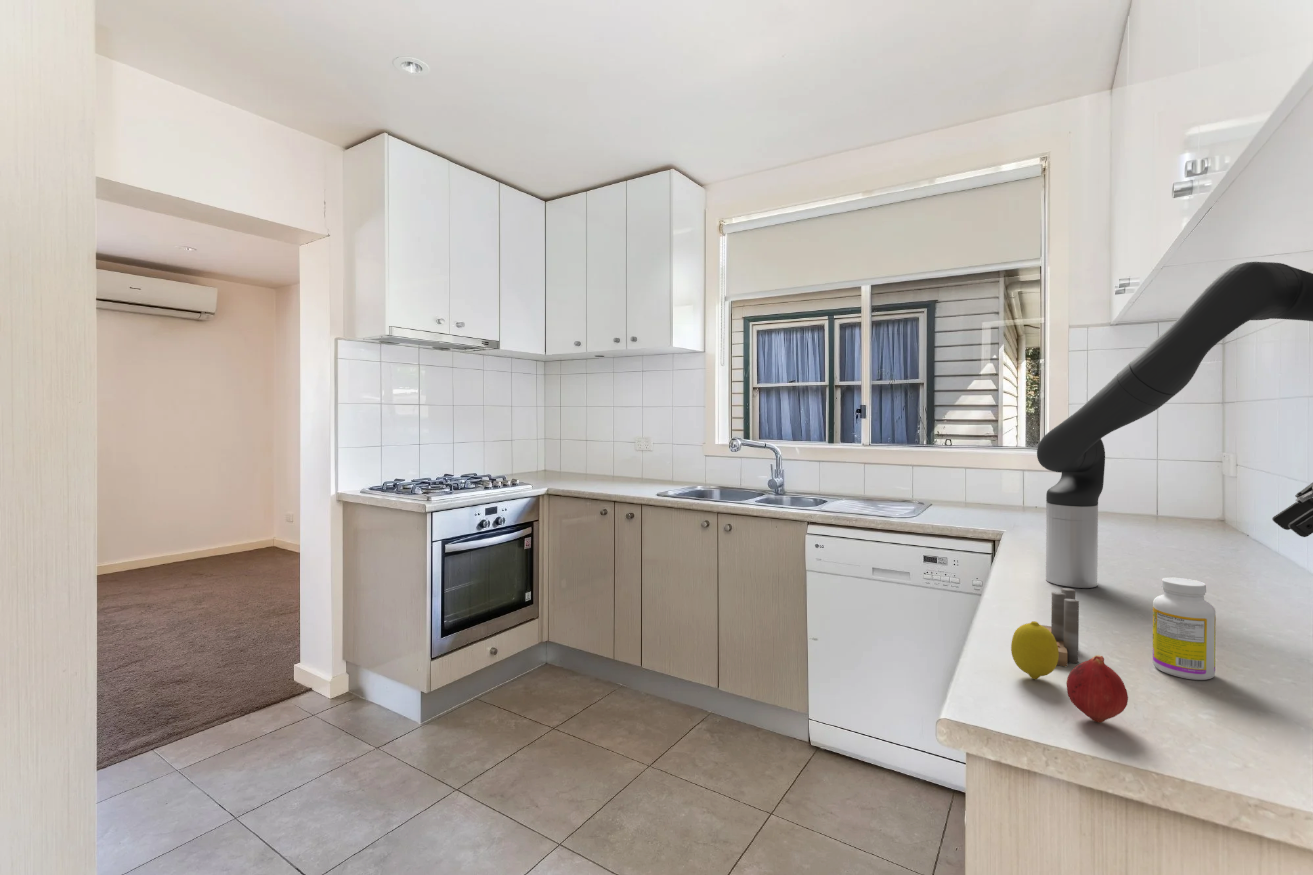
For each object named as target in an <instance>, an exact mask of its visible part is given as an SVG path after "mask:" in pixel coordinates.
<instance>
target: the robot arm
mask: <svg viewBox="0 0 1313 875" xmlns="http://www.w3.org/2000/svg"><path fill="white" fill-rule="evenodd" d="M1270 319H1271V320H1272V319H1273V320H1275V319H1276V320H1292V321H1303V322H1305V321H1306V322H1313V272H1309V271H1305V270H1303V269H1300V268H1297V267H1293V266H1290V265H1288V264H1285V263H1281V262H1268V261H1267V262H1266V261H1248V262H1247V261H1246V262H1243V263H1238V264H1236V265H1234V266H1231V267H1229V268H1227V269H1226V270H1224V271H1222V272H1221V273H1220V274H1219V275H1217V277H1216V278H1214V279H1213V280H1212V281H1211V282H1210V283H1209V284H1208V286H1206V288H1205V289H1204V290H1203V291H1202V292H1201V293H1200V294H1199V296H1197V298H1196V299H1195V300H1194V301H1193V302H1192V303H1191V305H1190V306H1189V307H1188V308H1187V309H1186V310H1185V311H1184V312H1183V313H1182V314H1181V316H1180V317H1179V318H1178V319H1176V320H1175V322H1173V324H1171V325H1170V326H1169V327H1168V328H1167V329H1166V330H1165V331H1164V332H1163V333H1162V334H1160V335H1159V336H1158V337H1156V339H1154V341H1152V342H1151V343H1150V344H1149V345H1148V346H1147V347H1146V348H1145V349H1144V350H1143V351H1141V353H1139V354H1138V355H1137V356H1136V357H1134V358H1133V359H1132V360H1131V361H1130V362H1129V363H1128V364H1127V365H1126V366H1124V367H1123V368H1122V369H1121V370H1120V371H1119V372H1118V373H1117V374H1116V375H1115V376H1114V377H1113V378H1112V379H1111V380H1110V381H1109V382H1108V383H1107V384H1105V385H1104V386H1103V387H1102V388H1101V389H1100V390H1099V391H1098V392H1096V393H1095V395H1093V396H1092V397H1091V398H1090V399H1089V400H1088V401H1087V402H1085V404H1084V405H1083V406H1081V407H1080V408H1079V409H1078V410H1077V411H1075V412H1074V413H1073V414H1071V415H1070V416H1069V417H1067V418H1066V419H1065V420H1063V421H1062V422H1061V423H1059V424H1058V425H1056V426H1055V427H1054V428H1052V429H1050V431H1048V432H1047V433H1046V434H1045V435H1044V436H1043V437H1042V438H1041V440H1040V441H1039V443H1038V446H1037V449H1036V458H1037V461H1038V463H1039V464H1040V466H1041V467H1042V468H1043V469H1044V468H1045V469H1046V470H1048V471H1050V472H1054V473H1061V474H1060V475H1061V476H1060V479H1059V480H1058V482H1057V483H1055V484H1054V485H1053V486H1051V487H1050V488H1048V489H1047V491H1046V497H1045V499H1046V500H1045V502H1046V504H1045V506H1046V508H1045V510H1046V514H1045V515H1046V516H1045V518H1046V519H1045V520H1046V522H1045V526H1046V527H1045V580H1046V582H1048V583H1051V584H1054V585H1057V586H1063V587H1067V588H1077V589H1078V588H1080V589H1081V588H1082V589H1089V588H1095V587H1097V586H1098V560H1099V558H1098V557H1099V556H1098V555H1099V554H1098V553H1099V552H1098V550H1099V549H1098V548H1099V544H1098V543H1099V498H1100V497H1101V494H1102V492H1103V489H1104V480H1105V467H1106V451H1105V444H1104V442H1103V440H1102V438H1104V437H1106V436H1107V435H1108V434H1111V433H1112V432H1114V431H1116V430H1118V429H1121V428H1123V427H1125V426H1128V425H1129V424H1131V423H1134V422H1136V421H1138V420H1141V419H1142V418H1144V417H1146V416H1148V415H1150V414H1152V413H1153V412H1155V411H1157V410H1158V409H1159V408H1160V407H1162V406H1164V405H1165V404H1166V403H1167V402H1168V401H1169V400H1171V399H1172V398H1174V396H1176V395H1177V394H1179V393H1180V392H1181V391H1182V390H1183V389H1184V388H1185V387H1186V386H1187V385H1188V384H1189V383H1190V381H1191V380H1192V379H1193V377H1194V376H1195V374H1196V372H1197V370H1198V369H1199V368H1200V365H1201V363H1202V361H1203V359H1204V358H1205V356H1206V355H1207V354H1208V353H1209V352H1210V351H1211V349H1213V348H1214V347H1215V346H1216V345H1217V344H1218V343H1219V342H1221V341H1222V340H1223V339H1225V338H1226V337H1227V336H1228V335H1230V334H1232V333H1233V332H1234V331H1235V330H1236V329H1238V328H1240V327H1241V326H1243V325H1244V324H1245V323H1248V322H1249V321H1265V320H1270ZM1295 498H1296V499H1295V502H1293V504H1291V505H1289V506H1288V507H1287V508H1285V509H1283V510H1282V511H1281V512H1278V513H1277V514H1276V515H1274V516H1273V517H1272V522H1274V523H1275V524H1276V525H1277V526H1279V527H1280V528H1282V529H1284V530H1287V531H1289V530H1291V531H1293V532H1294V533H1295V534H1296V535H1298V536H1299V537H1302V538H1307V537H1308V536H1310V535H1312V534H1313V482H1311V483H1310V484H1308V485H1307V486H1305V488H1303V489H1302V490H1300V491H1298V492H1297V493H1296V494H1295Z"/></svg>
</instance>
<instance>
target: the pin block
mask: <svg viewBox="0 0 1313 875" xmlns="http://www.w3.org/2000/svg"><path fill="white" fill-rule="evenodd" d="M1060 590H1061V591H1058V592H1057V591H1052V592H1051V617H1050V618H1051V626H1050V625H1045V624H1041V625H1042V626H1044V627H1045V628H1047V629H1048V630H1049V631H1050V632H1051V633H1052V634H1053V636H1054V637H1055V640H1056V642H1057V646H1058V651H1059V658H1058V663H1057V665H1056V666H1060V667H1061V666H1062V667H1065V666H1067V667H1068V663H1069V662H1071V663H1070V664H1078V663H1079V634H1080V632H1079V631H1080V630H1079V628H1080V626H1079V625H1080V624H1079V622H1080V621H1079V620H1080V619H1079V618H1080V617H1079V614H1080V612H1079V610H1080V609H1079V608H1080V601H1079V600H1077V599H1076V590H1075V589H1073V588H1070V587H1064V588H1063V587H1062V588H1061V589H1060Z"/></svg>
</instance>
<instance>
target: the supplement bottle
mask: <svg viewBox="0 0 1313 875" xmlns="http://www.w3.org/2000/svg"><path fill="white" fill-rule="evenodd" d="M1161 588H1162V590H1163V593H1162V594H1160V595H1158V596H1156V597H1155V598H1154V599H1153V601H1152V663H1153V666H1154V667H1155V668H1156V669H1157V670H1159V671H1161V672H1163V673H1165V674H1167V675H1171V676H1174V677H1178V678H1180V679H1181V678H1182V679H1187V680H1193V681H1195V680H1196V681H1205V680H1210V679H1212V678H1214V677H1215V675H1216V620H1217V618H1216V613H1217V612H1216V608H1215V607H1214V605H1213V604H1211V602H1209V601H1207V600H1205V595H1206V593H1207V584H1206V583H1204V582H1202V581H1200V580H1196V579H1190V578H1183V577H1173V576H1171V577H1163V578H1161Z"/></svg>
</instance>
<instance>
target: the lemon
mask: <svg viewBox="0 0 1313 875" xmlns="http://www.w3.org/2000/svg"><path fill="white" fill-rule="evenodd" d="M1042 625H1043V624H1040V623H1039V622H1038V621H1031V622H1029V623H1023V624H1021V625H1020V626H1019V627H1017V628H1016V629H1015V631H1014V632H1013V635H1012V639H1011V644H1010V650H1011V656H1012V659H1013V661H1014V663H1015V665H1016V666H1017V667H1018V668H1019V669H1020V670H1021V672H1023V673H1025V674H1027V675H1028V676H1029V677H1030V678H1031V679H1032V680H1037V679H1039V678H1040V677H1044V676H1048V675H1049V674H1051V673H1052V672H1054V671H1055V669H1056V668H1057V666H1058V665H1057V663H1058V658H1059V651H1058V646H1057V642H1056V640H1055V637H1054V636H1053V634H1052V633H1051V632H1050V631H1049V630H1048V629H1047V628H1045V627H1044V626H1042Z"/></svg>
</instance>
